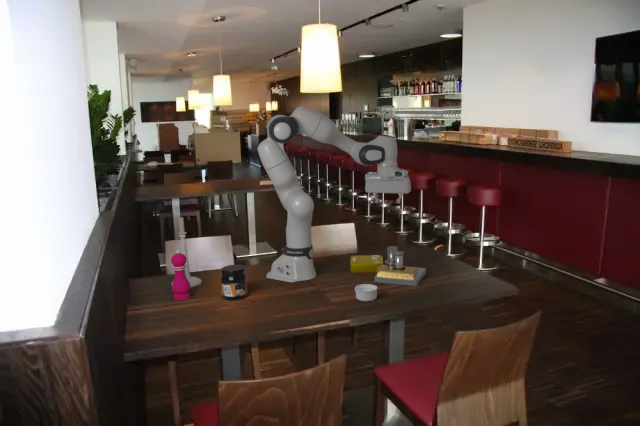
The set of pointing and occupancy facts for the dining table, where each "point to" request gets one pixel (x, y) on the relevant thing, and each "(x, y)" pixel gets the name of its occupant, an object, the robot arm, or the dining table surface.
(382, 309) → the dining table surface
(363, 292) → the ramekin
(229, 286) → the supplement container
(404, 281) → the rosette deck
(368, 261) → the element tile
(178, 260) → the pepper mill
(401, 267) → the steel pin
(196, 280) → the candlestick
